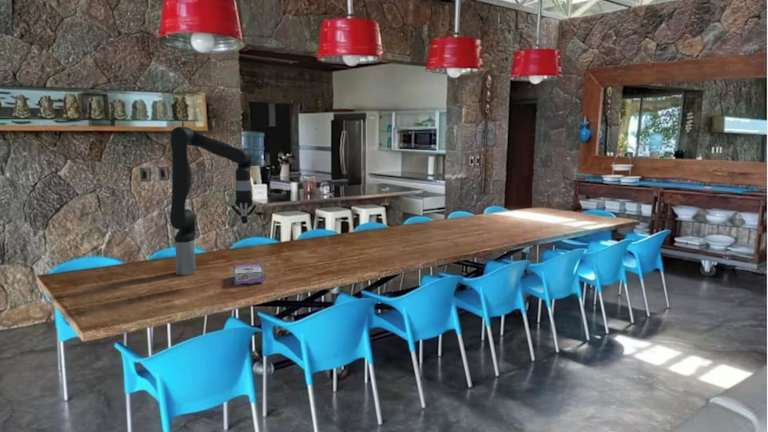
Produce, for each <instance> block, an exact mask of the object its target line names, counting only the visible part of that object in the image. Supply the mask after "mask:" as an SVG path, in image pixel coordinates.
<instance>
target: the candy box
mask: <svg viewBox="0 0 768 432" xmlns="http://www.w3.org/2000/svg"><path fill="white" fill-rule="evenodd" d="M263 276H264V270H263V266H262V264H261V263H256V264H255V263H254V264H253V263H252V264H240V265H239V264H238V265H236V264H235V265H233V277H234V282H233V283H234V285H237V286H239V285H248V284H249V285H250V284H261V283H264V281H263Z"/></svg>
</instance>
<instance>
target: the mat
mask: <svg viewBox="0 0 768 432" xmlns="http://www.w3.org/2000/svg"><path fill="white" fill-rule="evenodd" d="M265 279H266V275H263V282H265ZM226 283H235V282H234V276H229V277H228V278H227V280H226Z"/></svg>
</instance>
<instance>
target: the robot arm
mask: <svg viewBox="0 0 768 432" xmlns="http://www.w3.org/2000/svg"><path fill="white" fill-rule="evenodd" d="M170 144H171V145H170V146H171V153H172V155H171V156H172V160H171V162H172V168H171V169H172V170H171V172H172V173H171V183H172V184H171V185H172V186H171V187H172V189H171V190H172V191H171V206H170V207H171V208H170V214H169V215H170V216H169V219H170V220H169V221H170V225H171V226H172V228H174V229H175V230H178V232H177V233H176V234H175V236H174V246H175V248H174V249H175V256H174V263H175V275H176V276H178V275H179V276H190V275H194V274H195V273H196V272H197V268H196V267H197V266H196V253H195V235H196V218H195V214H194V213H193V211H191V210H190V209H187V208H186V201H187V198H188V196H189V193H190V191H191V188H192V181H193V180H192V179H193V178H192V177H193V176H192V174H193V173H192V169H191V166H190V163H189V160H188V155H187V153H188V152H187V151H188V150H187V149H188V146H193V147H194V146H195V147H198V148H201V149H203V150H205V151H207V152H209V153H211V154H213V155H216V156H219V157H222V158H224V159H227V160H229V161H231V162H233V163H235V164H237V168H236V170H235V202H234V204H232V205H231V206H230V208H231V209H232V210H233V211H234V212H235V213H236V214H237V216H240V219H241V223H242V224H243V225H244V224H245V225H246V224H247V223H248V221H249V220H248V217H249V216H251V214H252V213H253V212H254V210H255V209H256V208H257V207H258V206H257V204H256V203H254V201H253V199H252V182H251V168H252V167H251V166H252V153H251V152H250V151H249V149H247V148H237V147H234V146H232V145H231V144H229V143H226V142H223V141H220V140H217V139H214V138H211V137H209V136H205V135H203V134H201V133H200V132H197V131H196V130H195V129H194V130H193V129H192V128H190V127H188V126H177V127H174V128H173V129H172V131H171V132H170ZM237 207H238V208H237ZM250 208H251V209H250ZM249 209H250V211H248V210H249ZM239 210H240V211H239Z"/></svg>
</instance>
